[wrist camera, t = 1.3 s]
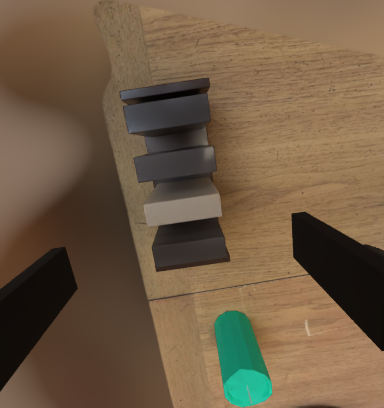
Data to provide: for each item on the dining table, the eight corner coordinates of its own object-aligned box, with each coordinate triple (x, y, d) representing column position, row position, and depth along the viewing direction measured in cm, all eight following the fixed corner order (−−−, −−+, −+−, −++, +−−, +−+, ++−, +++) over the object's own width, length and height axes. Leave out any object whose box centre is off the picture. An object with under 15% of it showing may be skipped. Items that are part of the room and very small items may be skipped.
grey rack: (140, 107, 31) (112, 85, 19) (201, 98, 30) (211, 70, 19) (164, 236, 35) (153, 283, 23) (218, 228, 35) (234, 271, 23)
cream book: (157, 184, 32) (142, 204, 21) (208, 176, 32) (219, 193, 21) (160, 199, 33) (147, 227, 22) (210, 192, 33) (222, 216, 22)
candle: (254, 313, 39) (283, 386, 27) (245, 343, 40) (269, 424, 29) (218, 308, 38) (231, 380, 27) (211, 338, 40) (221, 419, 28)
